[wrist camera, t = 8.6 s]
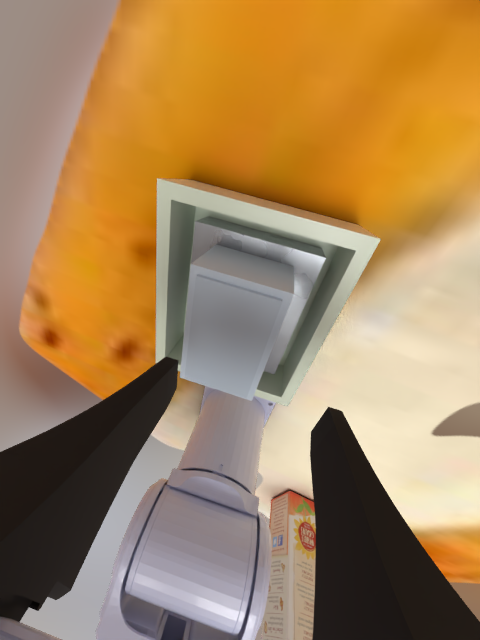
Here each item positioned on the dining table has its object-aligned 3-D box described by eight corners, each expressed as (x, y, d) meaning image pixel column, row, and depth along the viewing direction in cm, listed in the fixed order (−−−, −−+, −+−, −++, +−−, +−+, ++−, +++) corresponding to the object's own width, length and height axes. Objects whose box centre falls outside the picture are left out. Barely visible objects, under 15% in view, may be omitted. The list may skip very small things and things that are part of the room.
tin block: (276, 355, 20) (274, 374, 18) (194, 329, 21) (183, 345, 19) (321, 247, 15) (325, 257, 13) (208, 216, 15) (195, 221, 13)
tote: (289, 368, 22) (287, 406, 18) (178, 333, 23) (155, 363, 19) (358, 224, 14) (380, 239, 11) (191, 179, 15) (157, 178, 11)
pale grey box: (259, 360, 18) (251, 404, 14) (200, 341, 18) (178, 380, 15) (294, 266, 13) (293, 296, 10) (215, 244, 14) (188, 265, 10)
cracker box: (269, 498, 37) (247, 772, 20) (289, 487, 34) (284, 804, 17) (339, 532, 39) (375, 820, 21) (365, 525, 35) (434, 858, 18)
